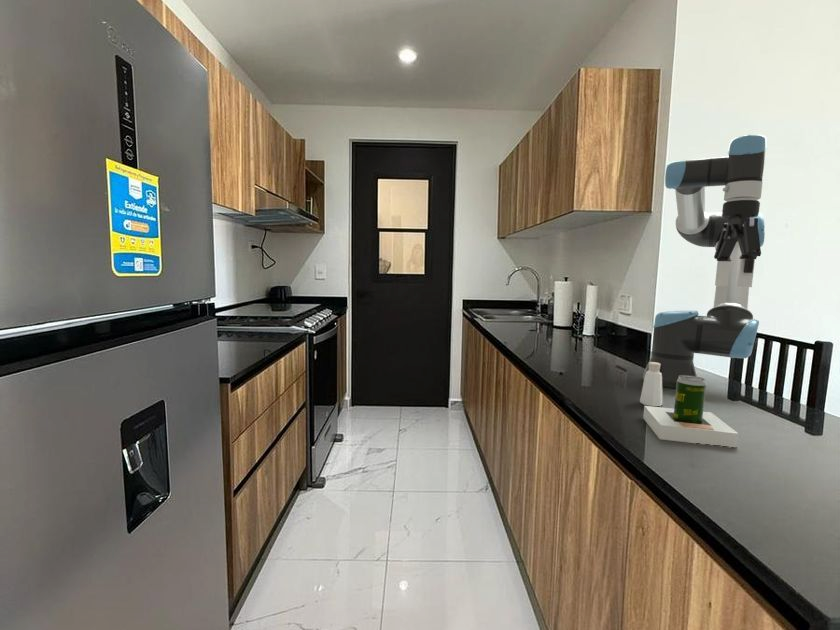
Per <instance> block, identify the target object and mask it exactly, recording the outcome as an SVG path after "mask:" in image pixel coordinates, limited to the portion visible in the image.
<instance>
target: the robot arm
mask: <svg viewBox="0 0 840 630" xmlns="http://www.w3.org/2000/svg"><path fill="white" fill-rule="evenodd" d="M767 141H768V140H767V137H766V135H762V134H746V135H741V136H738V137H735V138H733V139H732V140H731V141H730V142H729V147H728V150H727V154H728V156H720V157H719V156H718V157H710V158H709V157H708V158H698V159H695V158H694V159H686V160H685V159H682V160H678V161H671V162H669V163H668V164H667V165H666V168H665V174H664V175H665V179H664V185H665V187H666V189H669V190H670V189H673V190H674V192H675V201H676V210H677V217H676V219H675V228H676V231H677V233H678V234H679V235H680V237H681V238H683V239H684V240H685V241H687V242H688V243H691V245H695V246H697V247H702V248H714V249H715V253H714V256H713V258H714V259H715V260H716V261H717V263H716V271H715V272H716V274H715V284H714V286H715V291H714V298H713V299H714V301H713V307H712V308H710V309H709V310H708V311H707V313H706V315H699V311H698V310H672V311H671V310H668V311H660V312H658V313H657V314H656V315H655V317H654V324H653V326H652V327H653V335H652V336H653V337H652V344H651V345H652V346H651V356H650V359H649V361H648V363H647V365H646V367H645V370H644V371H643V375H642V376H643V377H642V381H644V378H645V374H646V372H647V371H649V362H657V363H660V364H661V366H660V370H659V372H660V373H662V388H670V389H676V385H677V379H678V378H679V375H689V376H696V377H698V376H697V372H696V368H695V364H694V356H695V354H697V355H699V354H701V355H708V356H717V357H722V358H723V357H725V358H726V357H727V358H729V359H733V358H736V359H747V358H749V357H750V356H751V355H752V352H753V349H754V346H755V345H754V344H755V340H756V336H757V334H758V330H759V325H760V321H759V320H757V319H755V318H754V314H753V312H751V311H750V310H749V309H748V306H749V294H750V293H749V292H750V288H752V287H753V281H754V280H753V278H754V273H755V272H754V270H755V263H756V262H755V261H756V260H757V258H758V257H760V256H761V255H762V251H761V247H762V246H763V245H764V243H765V237H766V236H765V235H766V233H765V219H764V215H763V214H762V212H760V206H761V202H760V201H759V200H760V199H761V198H762V191H763V176H764V168H765V161H766V153H767V149H768V147H767ZM718 186H719V187H720V186H721V187H722V186H724V187H723V189H722V191H723V192H724V195H723V196H724V197H723V201H726V202H724V203H723V204H722V211H721V212H706V200H705V199H706V195H705V194H706V192H705V189H706V187H718Z"/></svg>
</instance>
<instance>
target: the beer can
mask: <svg viewBox="0 0 840 630" xmlns="http://www.w3.org/2000/svg"><path fill="white" fill-rule="evenodd" d="M706 387H707V385H706V379H705V378H703V377H700V376H697V377H696V376H689V375H679V378H678V379H677V385H676V388H675V397H674V404H673V406H674V407H673V409H674V415H673V421H674V422H684V423H693V424H702V417H703V412H704V406H705V397H706V389H707V388H706Z"/></svg>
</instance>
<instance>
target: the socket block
mask: <svg viewBox="0 0 840 630" xmlns="http://www.w3.org/2000/svg"><path fill="white" fill-rule="evenodd" d="M673 415H674V408H671V407H670V408H669V407H662V406H660V407H652V406H648V405H644V406H643V415H642V416H643V417H642V418H643V420H644V421H645V422H646V423H647V425H648V426H649V428H650V429H651V430H652V431H653V433H654V434H655V435H656V437H657V438H658V439H659V440H662V441H663V440H665V441H670V442H671V441H673V442H681V443H691V444H696V443H700V444H699V445H705V444H710V445H709V446H713V445H721V446H720V447H722V446H729V447H728V448H731V447H737V448H738V443H739V432H737V431H736V430H735V429H733V428H732V427H730V426H729V425H728V424H727V423H725V422H724V421H723V420H722V419H720V418H719V417H718V416H717V415H716V414H714V413H713V412H712V411H711V412H710V411H703V417H702V424H693V423H684V422H674V421H673Z"/></svg>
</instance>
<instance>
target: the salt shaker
mask: <svg viewBox="0 0 840 630" xmlns="http://www.w3.org/2000/svg"><path fill="white" fill-rule="evenodd" d="M648 363H649V371H647V372H646V374H645V378H644V380H643V385H642V389H641V393H640V394H641V395H640V397H639V398H640V399H639V403H640V404H642V405H644V406H660V407H662V406H663V403H664V401H663V386H662V373H660V372H659V370H660V366H661V364H660V363H657V362H649V361H648ZM661 405H662V406H661Z"/></svg>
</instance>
